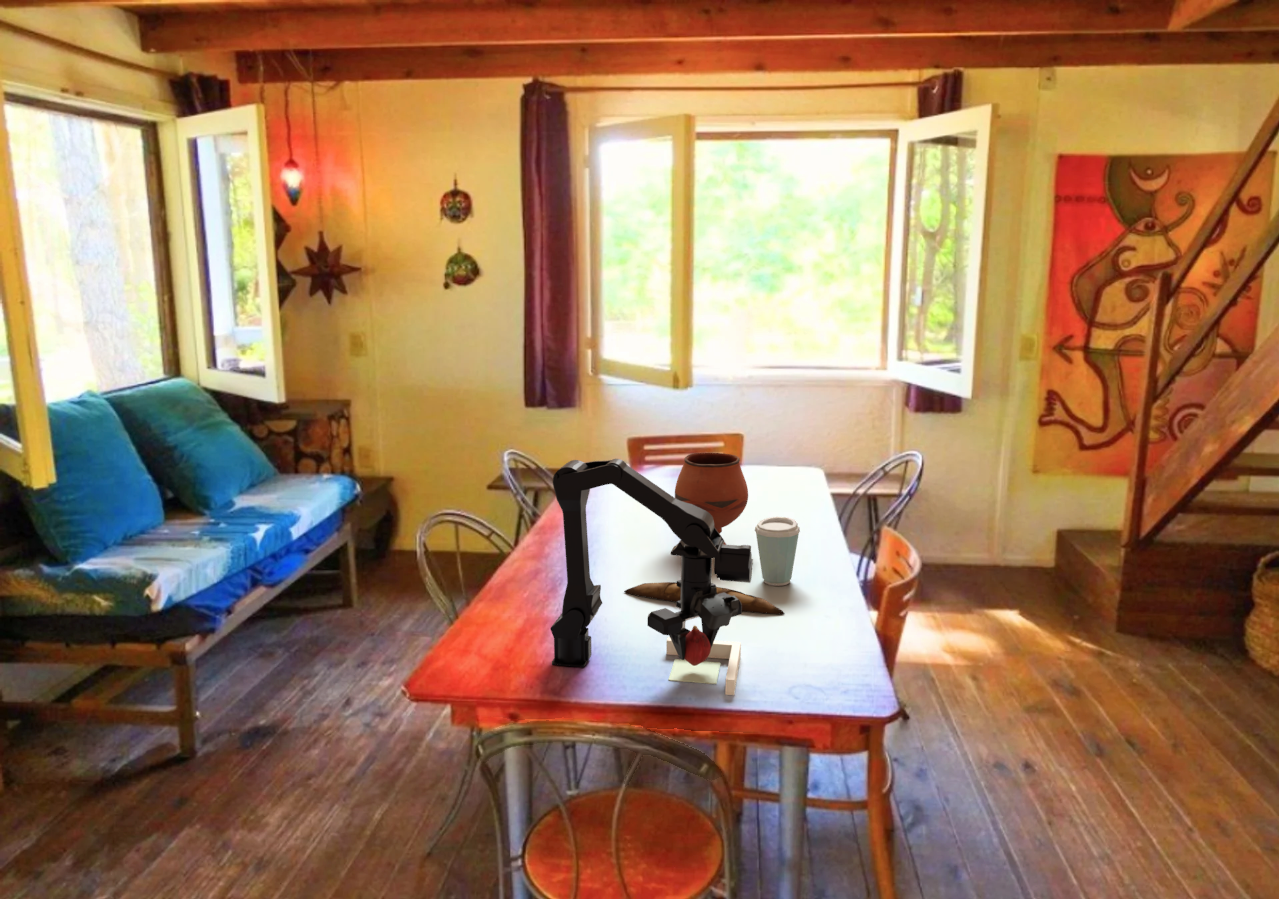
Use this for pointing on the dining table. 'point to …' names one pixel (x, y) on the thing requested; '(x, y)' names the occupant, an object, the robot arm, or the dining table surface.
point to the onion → (696, 647)
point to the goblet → (713, 486)
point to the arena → (708, 665)
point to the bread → (749, 602)
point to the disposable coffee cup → (777, 548)
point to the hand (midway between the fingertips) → (694, 655)
